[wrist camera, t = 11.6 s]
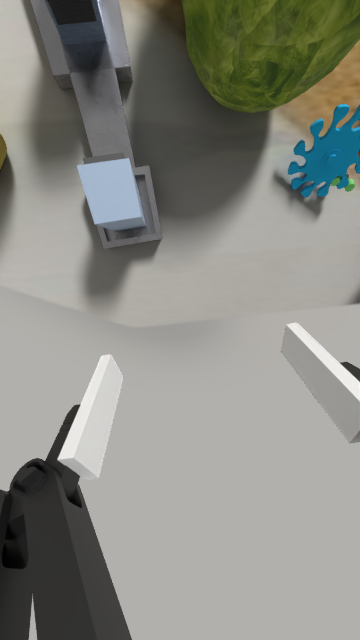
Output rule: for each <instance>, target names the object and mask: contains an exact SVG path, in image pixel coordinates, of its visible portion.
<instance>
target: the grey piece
mask: <svg viewBox="0 0 360 640" xmlns="http://www.w3.org/2000/svg"><path fill="white" fill-rule="evenodd" d="M30 1H31V4H32V7H33V11H34V14H35V17H36V21H37V24H38V27H39V30H40V34H41V37H42V40H43V44H44V47H45V50H46V54H47V57H48V60H49V64H50V67H51V70H52V73H53V76H54V78H55V79H56V81H57V83H58V84H59V86H60V88H61V89H62V90H63V89H71V88H74V91H75V95H76V98H77V102H78V105H79V109H80V113H81V116H82V120H83V123H84V127H85V131H86V134H87V138H88V142H89V145H90V149H91V152H92V156H93V157H94V156H102V155H109V154H116V153H123V154H124V157H125V159H126V158H129V160H130V163H131V166H132V170H133V173H134V177H135V180H136V183H137V187H138V190H139V195H140V200H141V205H142V210H143V214H144V219H145V224H146V226H145V227H139V228H133V229H127V230H121V231H113V230H110V229H107V228H104V227H101V226H98V225H96V226H97V229H98V233H99V236H100V239H101V242H102V246H103V249H107V248H114V247H119V246H125V245H131V244H137V243H142V242H148V241H154V240H160V239H162V233H161V227H160V222H159V216H158V211H157V205H156V200H155V194H154V189H153V183H152V178H151V172H150V167H149V165H148V166H142V167H135V162H134V158H133V153H132V148H131V143H130V138H129V133H128V128H127V124H126V119H125V114H124V109H123V104H122V99H121V95H120V90H119V85H118V83H119V82H128V81H133V80H132V72H131V65H130V60H129V54H128V49H127V43H126V38H125V32H124V27H123V21H122V16H121V10H120V5H119V0H30Z"/></svg>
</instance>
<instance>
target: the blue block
mask: <svg viewBox="0 0 360 640" xmlns="http://www.w3.org/2000/svg"><path fill="white" fill-rule="evenodd" d="M83 161H84V165H77V169H78V172H79V175H80V178H81V182H82V185H83V188H84V191H85V195H86V198H87V201H88V204H89V208H90V211H91V214H92V217H93V221H94V224H95V225H98V226H101V227H104V228H107V229H110V230H113V231H121V230H127V229H133V228H139V227H145V226H146V224H145V219H144V214H143V210H142V205H141V200H140V195H139V190H138V187H137V183H136V180H135V177H134V173H133V170H132V166H131V163H130V160H129V158H126V159H125V157H124V154H123V153H116V154H109V155H102V156H94V157H87V158H83Z"/></svg>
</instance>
